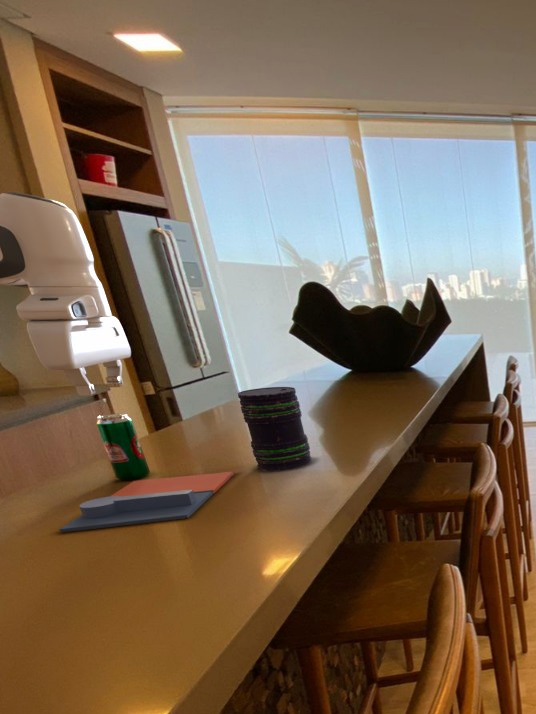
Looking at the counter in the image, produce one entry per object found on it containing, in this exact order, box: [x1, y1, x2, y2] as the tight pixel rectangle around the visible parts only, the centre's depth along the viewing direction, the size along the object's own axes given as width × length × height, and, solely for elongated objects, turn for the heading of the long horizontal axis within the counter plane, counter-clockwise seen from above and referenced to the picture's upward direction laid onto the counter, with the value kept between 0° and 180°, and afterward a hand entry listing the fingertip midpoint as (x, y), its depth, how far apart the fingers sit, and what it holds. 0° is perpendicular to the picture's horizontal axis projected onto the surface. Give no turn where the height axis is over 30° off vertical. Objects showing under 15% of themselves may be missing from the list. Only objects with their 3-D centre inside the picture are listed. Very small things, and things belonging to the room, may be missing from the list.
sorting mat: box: [59, 471, 235, 534], centre depth 97 cm, size 16×24×1 cm, turn 19°
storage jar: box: [237, 386, 313, 472], centre depth 113 cm, size 10×10×15 cm
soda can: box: [95, 412, 151, 482], centre depth 106 cm, size 5×5×12 cm
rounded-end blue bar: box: [78, 490, 196, 518], centre depth 91 cm, size 15×5×2 cm, turn 109°
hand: (102, 390), depth 98 cm, fingers open, 8 cm apart
